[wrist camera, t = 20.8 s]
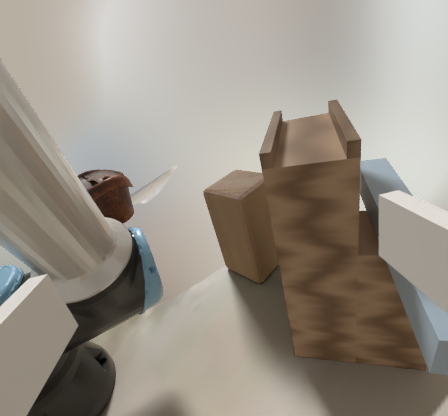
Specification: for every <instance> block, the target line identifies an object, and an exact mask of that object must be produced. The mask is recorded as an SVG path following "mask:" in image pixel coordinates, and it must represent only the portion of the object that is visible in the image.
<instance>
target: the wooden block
mask: <svg viewBox="0 0 448 416" xmlns="http://www.w3.org/2000/svg"><path fill="white" fill-rule="evenodd" d="M204 197H205V200H206V204H207V207H208V210H209V213H210V216H211V219H212V223H213V226H214V229H215V232H216V235H217V239H218V242H219V245H220V248H221V251H222V254H223V258H224V261H225V264H226V266H227V267H228V268H229V269H230V270H232V271H234V272H236V273H238V274H240V275H242V276H244V277H246V278H248V279H250V280H252V281H254V282H256V283H259V284H261V283H263V282H264V280H265V279H266V278H267V277H268V276H269V275H270V274H271V273H272V271H273V270H274V269H275V268H276V267H277V266H278V265H279V263H278V257H277V251H276V246H275V240H274V234H273V229H272V223H271V218H270V212H269V206H268V201H267V195H266V190H265V184H264V178H263V173H256V172H249V171H241V170H235V171H233V172H231V173H230V174H228V175H227V176H225V177H224V178H222V179H221V180H219V181H218V182H216V183H214V184H213V185H211V186H210V187H208V188H207V189H205V190H204Z"/></svg>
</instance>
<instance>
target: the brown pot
mask: <svg viewBox="0 0 448 416" xmlns="http://www.w3.org/2000/svg"><path fill="white" fill-rule="evenodd" d="M78 178H79V179H80V181H81V182H82V184H83V186H84V187H85V189H86V190H87V192H88V193H89V195H90V196H91V198H92V199H93V201H94V202H95V204H96V205H97V207H98V208H99V210H100V211H101V213H102V215H103V216H104V217H107V218H112V219H115V220H117V221H119V222H121V223H122V224H123V223H125V222H126V221H127V220H129V219H130V218H131V217H132V216H133V214H134V210H133V205H132V201H131V197H130V193H129V189H128V187H133V186H132V184H131V182H130V181H129V179H128V178H127V177H125V176H124V175H123V173H121V172H117V171H113V170H91V171H87V172H84V173H81V174H80V175H78Z"/></svg>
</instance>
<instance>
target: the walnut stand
mask: <svg viewBox="0 0 448 416" xmlns="http://www.w3.org/2000/svg"><path fill="white" fill-rule="evenodd" d="M328 105H329V113H327V114H321V115H316V116H310V117H305V118H299V119H294V120H288V121H282V113H281V111H276V112H274V113H273V116H272V119H271V122H270V125H269V127H268V130H267V133H266V136H265V139H264V142H263V144H262V147H261V150H260V153H259V155H260V161H261V166H262V173H263V178H264V184H265V190H266V195H267V201H268V206H269V212H270V218H271V223H272V229H273V234H274V240H275V246H276V251H277V257H278V263H279V268H280V274H281V279H282V285H283V291H284V296H285V302H286V308H287V313H288V319H289V324H290V330H291V336H292V341H293V347H294V353H295V356H299V357H308V358H317V359H327V360H336V361H345V362H354V363H363V364H372V365H381V366H390V367H399V368H408V369H418V370H426V366H427V365H426V363H425V360H424V358H423V355H422V352H421V350H420V347H419V345H418V342H417V339H416V337H415V334H414V332H413V329H412V327H411V324H410V321H409V319H408V316H407V314H406V311H405V308H404V306H403V303H402V301H401V298H400V295H399V293H398V290H397V288H396V285H395V283H394V280H393V277H392V275H391V272H390V270H389V267H388V264H387V262H386V261H385V260H384V259H383V258H381V257H380V256H379V241H378V239H377V236H376V233H375V231H374V228H373V226H372V223H371V221H370V218H369V215H368V213H367V211H359V200H360V199H359V197H360V159H361V139H360V137H359V135H358V133H357V132H356V130H355V129H354V127H353V125H352V124H351V122H350V120H349V119H348V117H347V116H346V114H345V112H344V111H343V109H342V107H341V106H340V104H339V102H338V101H337V100H332V101H329V102H328Z"/></svg>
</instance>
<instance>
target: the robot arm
mask: <svg viewBox="0 0 448 416" xmlns="http://www.w3.org/2000/svg"><path fill="white" fill-rule="evenodd" d="M0 245H1V246H2V247H3V248H5V249H6V250H7V251H9V252H10V253H11V254H13V255H14V256H15V257H17V258H18V259H19V260H20V261H22V262H23V263H24V264H26V265H27V266H28V267H30V268H31V272H30V273H27V274H23V270H22V269H20V268H17V267H16V266H14V265H8V266H1V267H0V416H100V415H101V413H102V412H103V410H104V408H105V406H106V404H107V402H108V400H109V398H110V395H111V393H112V390H113V386H114V382H115V365H114V362H113V360H112V358H111V357H110V355H109V354H108V353H107V352H106V350H105V349H103V348H102V347H101V346H99V345H97V344H94V343H92V342H90V341H89V340H91V339H93V338H94V337H96V336H98V335H100V334H102V333H104V332H106V331H107V330H109V329H111V328H113V327H115V326H117V325H119V324H121V323H122V322H124V321H126V320H128V319H130V318H132V317H134V316H135V315H137V314H142V313H144V312H145V311H146V310H147V309H148V308H150V307H151V306H153V305H155V304H156V303H158V302H159V301H160V300H161V298H162V296H163V286H162V283H161V279H160V276H159V273H158V270H157V268H156V265H155V262H154V258H153V255H152V253H151V250H150V248H149V245H148V243H147V240H146V238H145V236H144V234H143V232H142V230H141V229H140V228H138V227H133V228H126V227H125V226H124V225H123V224H122V223H121V222H119V221H117V220H115V219H112V218H107V217H104V216H103V215H102V213H101V211H100V210H99V208H98V207H97V205H96V204H95V202H94V201H93V199H92V198H91V196H90V195H89V193H88V192H87V190H86V189H85V187H84V186H83V184H82V182H81V181H80V179H79V178H78V176H77V175H76V173H75V172H74V170H73V169H72V167H71V166H70V164H69V163H68V161H67V160H66V158H65V157H64V155H63V154H62V152H61V150H60V149H59V147H58V146H57V144H56V143H55V141H54V140H53V138H52V137H51V135H50V134H49V132H48V131H47V129H46V128H45V126H44V125H43V123H42V121H41V120H40V118H39V117H38V116H37V114H36V112H35V111H34V109H33V108H32V106H31V105H30V103H29V102H28V100H27V99H26V97H25V96H24V94H23V93H22V91H21V89H20V88H19V86H18V85H17V83H16V82H15V80H14V79H13V77H12V76H11V74H10V73H9V71H8V70H7V68H6V67H5V65H4V64H3V62H2V61H1V59H0ZM379 256H380V257H381V258H383V259H384V260H385V261H386V262H387V263H388V264H390V265H391V266H392V267H393V268H394V269H395V270H397V271H398V272H399V273H400V274H401V275H403V276H404V277H405V278H406V279H407V280H408V281H410V282H411V283H412V284H413V285H414V286H415V287H417V288H418V289H419V290H420V291H421V292H422V293H424V294H425V295H426V296H427V297H428V298H429V299H431V300H432V301H433V302H434V303H435V304H436V305H438V306H439V307H440V308H441V309H442V310H443V311H445V312H446V313H447V314H448V211H446V210H443V209H441V208H439V207H437V206H434V205H432V204H430V203H427V202H425V201H423V200H420V199H418V198H416V197H413V196H411V195H409V194H406V193H404V192H402V191H400V190H397V191H392V192H388V193H384V194H380V195H379Z"/></svg>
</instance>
